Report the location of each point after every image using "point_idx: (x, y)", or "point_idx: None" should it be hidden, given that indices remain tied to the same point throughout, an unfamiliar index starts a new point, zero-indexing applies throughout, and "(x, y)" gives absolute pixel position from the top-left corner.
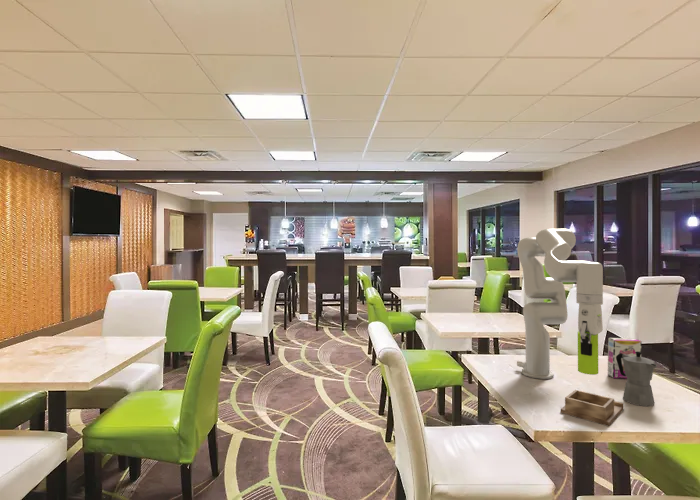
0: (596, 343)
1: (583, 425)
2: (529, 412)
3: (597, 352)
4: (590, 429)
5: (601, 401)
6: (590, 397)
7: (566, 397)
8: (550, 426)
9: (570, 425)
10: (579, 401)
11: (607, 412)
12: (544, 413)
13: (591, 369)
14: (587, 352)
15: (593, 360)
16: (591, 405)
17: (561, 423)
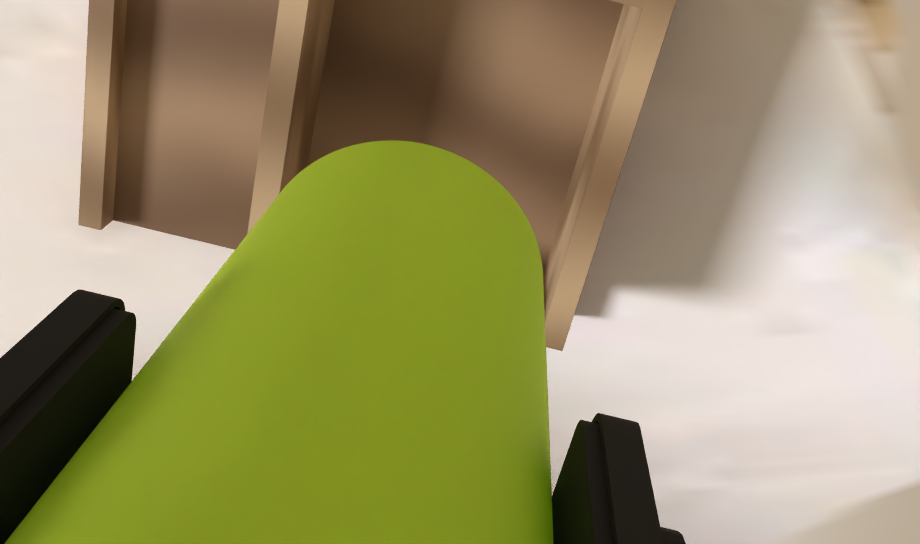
0: (403, 518)
1: (773, 140)
2: (686, 503)
3: (393, 324)
4: (841, 86)
5: (316, 17)
6: (299, 125)
7: (553, 340)
8: (910, 361)
9: (821, 233)
10: (601, 228)
11: None
12: (651, 414)
13: (533, 267)
14: (675, 541)
15: (517, 314)
16: (634, 117)
17: (809, 295)
